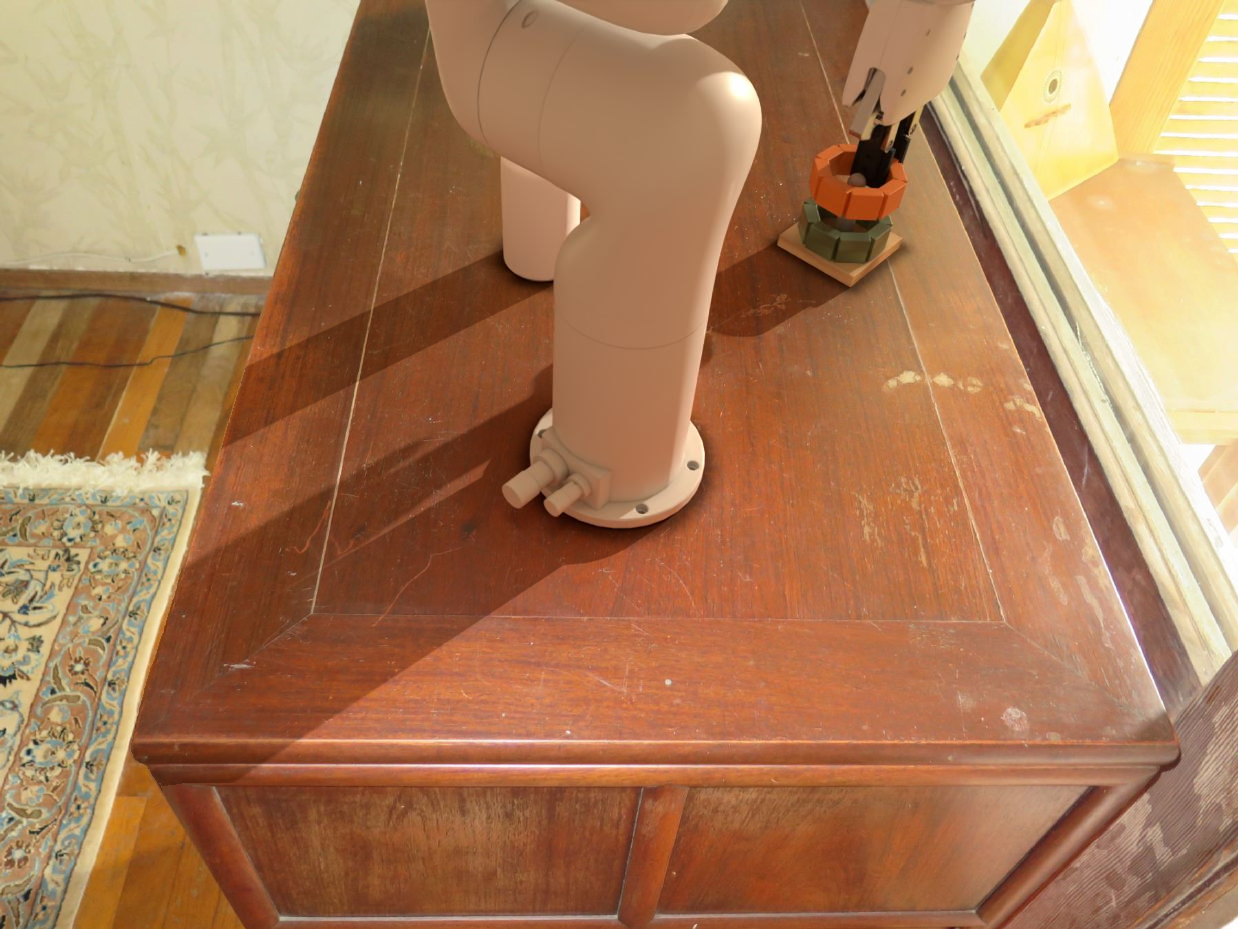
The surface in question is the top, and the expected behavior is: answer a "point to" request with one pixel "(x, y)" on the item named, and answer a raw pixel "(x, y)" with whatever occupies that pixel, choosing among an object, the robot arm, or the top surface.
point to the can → (534, 221)
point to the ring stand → (840, 240)
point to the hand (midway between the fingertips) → (873, 176)
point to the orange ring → (853, 199)
